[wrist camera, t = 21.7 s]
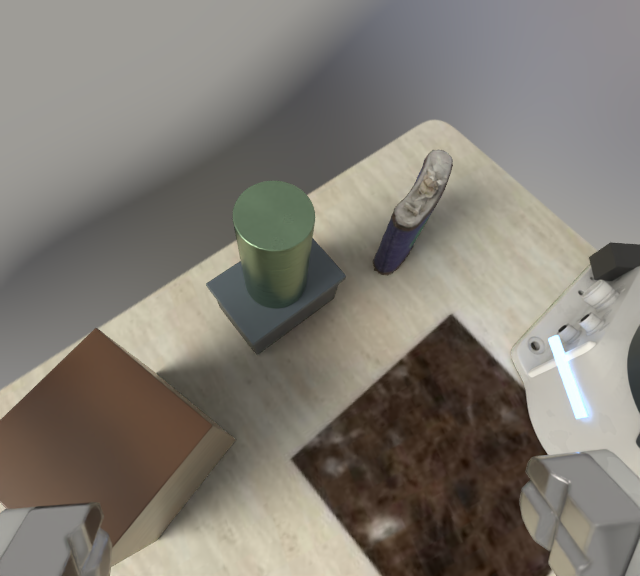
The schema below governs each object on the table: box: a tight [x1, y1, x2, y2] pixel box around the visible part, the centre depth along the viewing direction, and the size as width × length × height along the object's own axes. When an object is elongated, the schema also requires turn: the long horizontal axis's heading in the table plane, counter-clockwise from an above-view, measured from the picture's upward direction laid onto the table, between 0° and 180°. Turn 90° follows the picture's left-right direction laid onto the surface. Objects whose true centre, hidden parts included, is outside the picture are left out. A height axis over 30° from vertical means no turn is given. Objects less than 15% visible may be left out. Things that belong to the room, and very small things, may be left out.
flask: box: [373, 150, 453, 275], centre depth 39 cm, size 9×3×11 cm, turn 150°
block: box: [0, 328, 235, 567], centre depth 29 cm, size 9×9×13 cm
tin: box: [233, 181, 315, 308], centre depth 31 cm, size 5×5×10 cm
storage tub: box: [206, 238, 346, 355], centre depth 38 cm, size 10×6×5 cm
